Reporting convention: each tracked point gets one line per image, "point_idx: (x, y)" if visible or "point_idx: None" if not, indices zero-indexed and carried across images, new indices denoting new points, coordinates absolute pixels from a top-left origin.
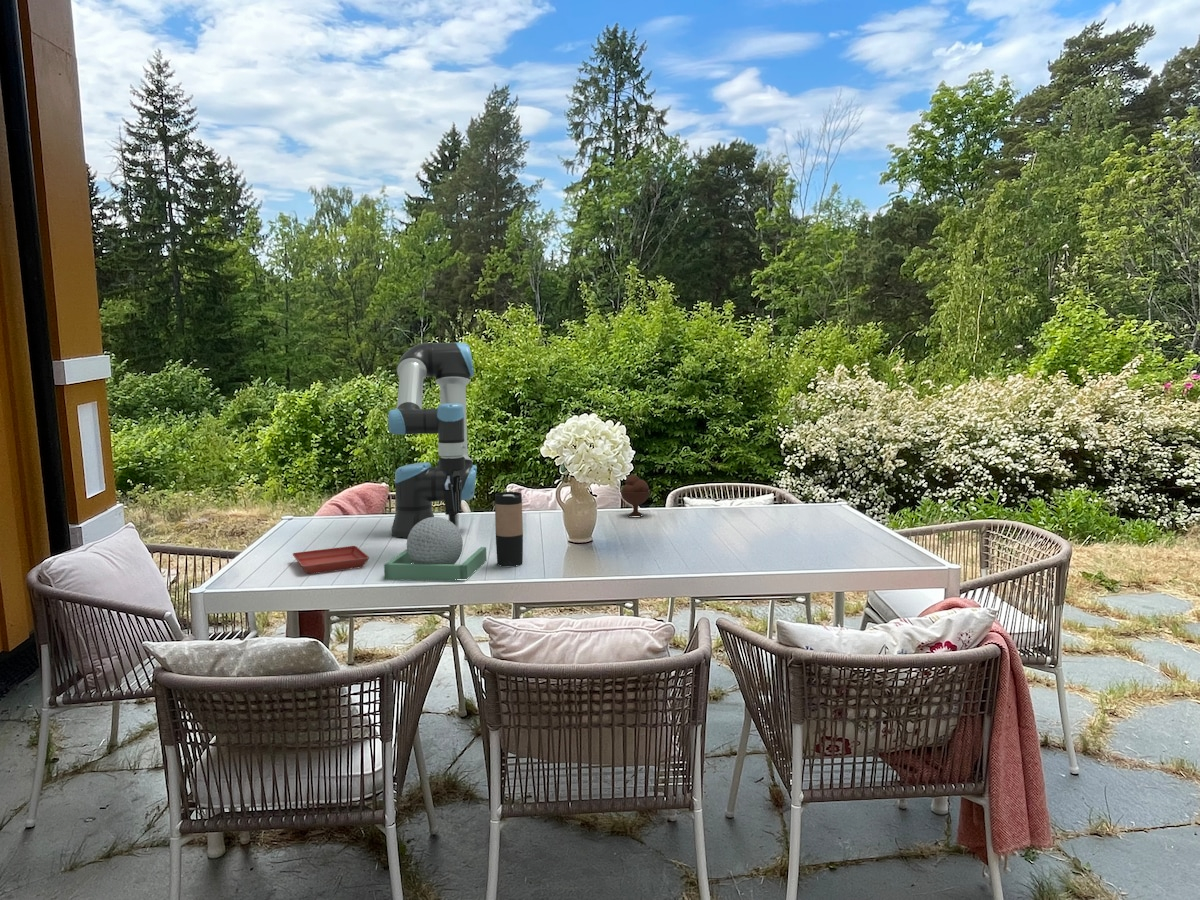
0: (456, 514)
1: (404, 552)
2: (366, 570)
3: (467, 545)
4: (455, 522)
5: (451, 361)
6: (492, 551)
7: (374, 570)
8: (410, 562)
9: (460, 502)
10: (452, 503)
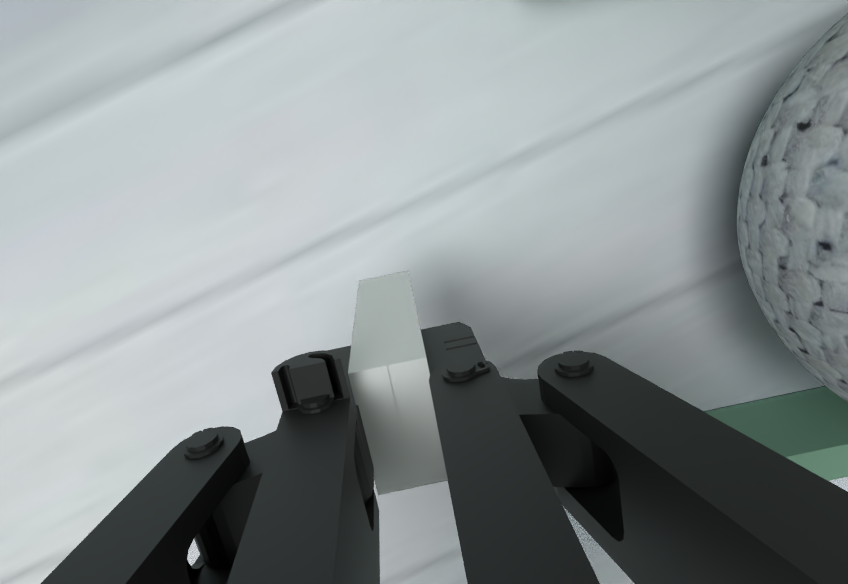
0: (450, 364)
1: None
2: None
3: (76, 327)
4: (425, 342)
5: None
6: (178, 27)
7: None
8: None
9: (158, 512)
10: (751, 448)
